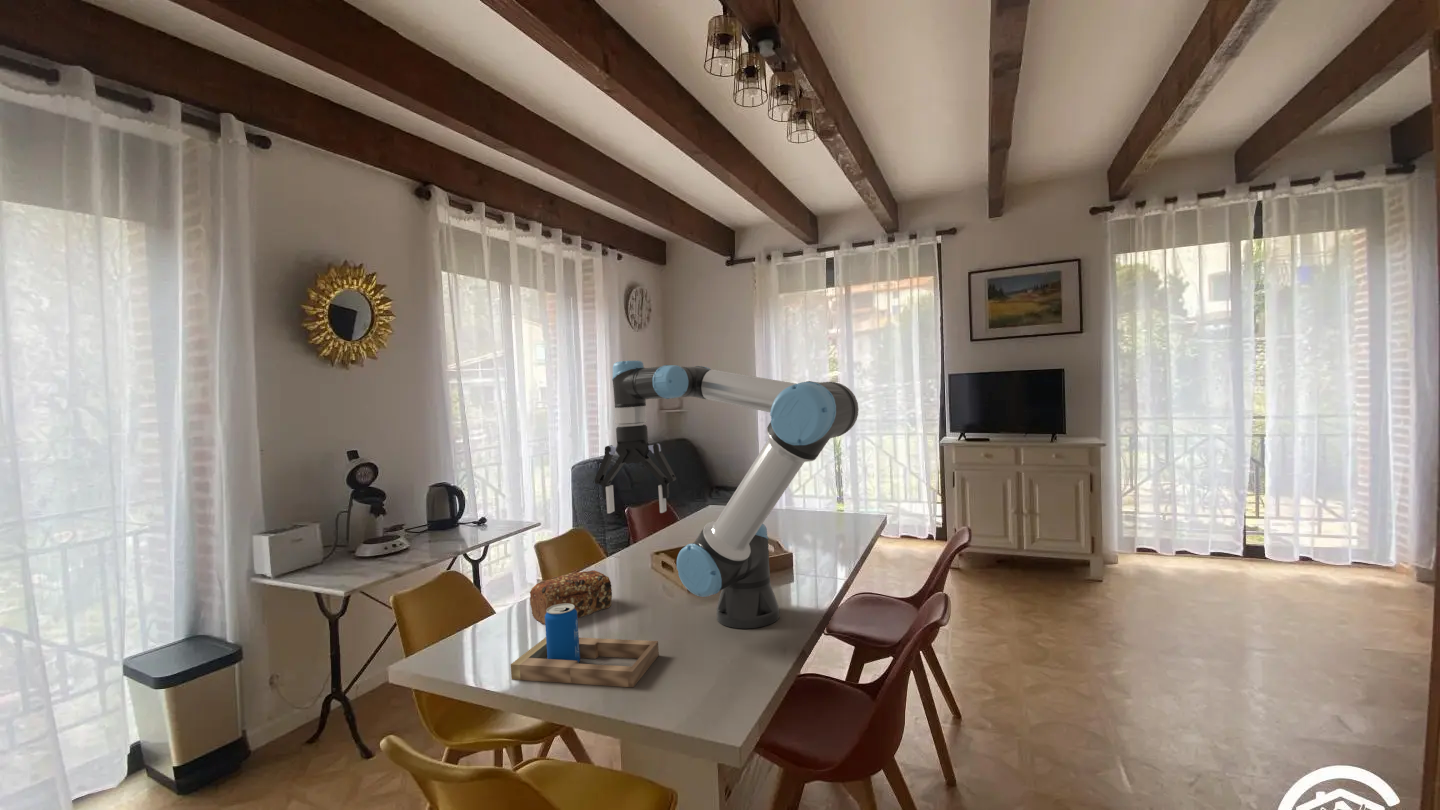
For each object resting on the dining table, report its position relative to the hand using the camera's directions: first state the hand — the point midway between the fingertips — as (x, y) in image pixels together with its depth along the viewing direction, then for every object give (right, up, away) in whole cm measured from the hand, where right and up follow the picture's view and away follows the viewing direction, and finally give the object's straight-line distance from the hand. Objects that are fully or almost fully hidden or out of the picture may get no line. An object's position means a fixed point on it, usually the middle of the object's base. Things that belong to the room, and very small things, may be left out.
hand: (636, 512), depth 147 cm
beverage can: (-12, -28, -22) cm, 38 cm away
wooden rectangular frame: (-7, -28, -23) cm, 37 cm away
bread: (-18, -28, +10) cm, 35 cm away
